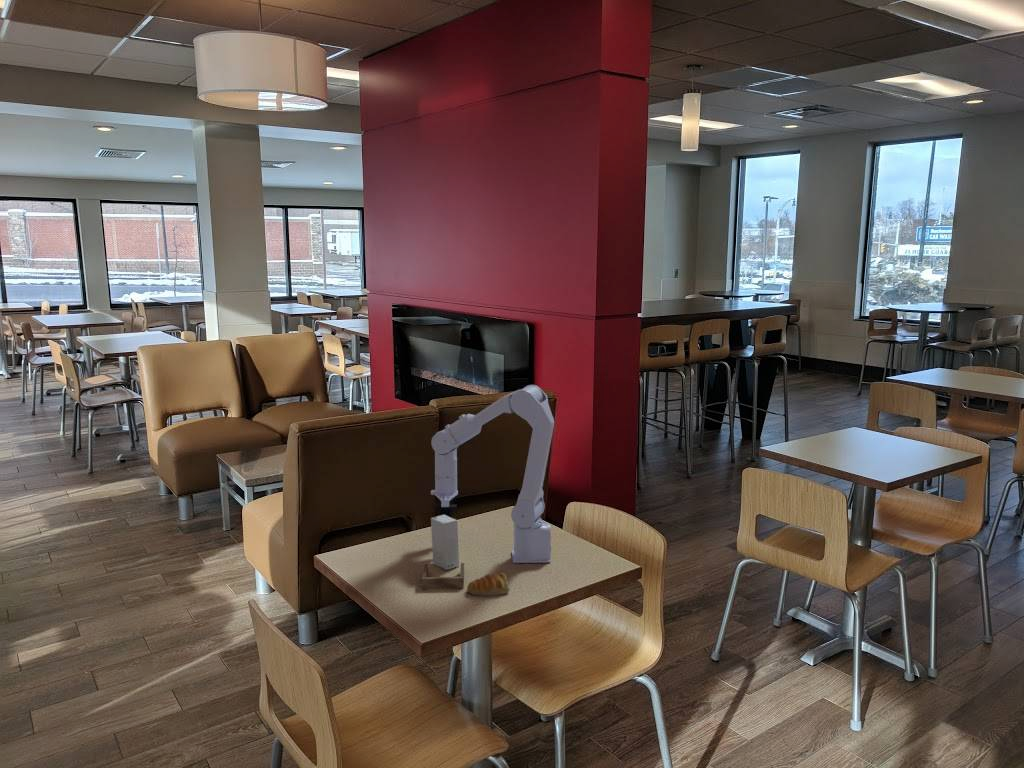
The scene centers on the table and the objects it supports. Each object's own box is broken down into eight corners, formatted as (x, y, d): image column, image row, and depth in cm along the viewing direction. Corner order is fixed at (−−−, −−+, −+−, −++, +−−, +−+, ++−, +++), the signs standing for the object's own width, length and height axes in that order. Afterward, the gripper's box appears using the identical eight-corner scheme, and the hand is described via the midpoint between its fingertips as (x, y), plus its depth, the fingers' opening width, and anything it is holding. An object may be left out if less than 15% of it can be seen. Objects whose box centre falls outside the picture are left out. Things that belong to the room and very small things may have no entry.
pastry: (472, 600, 166) (471, 584, 166) (463, 588, 173) (463, 572, 172) (511, 594, 169) (511, 578, 169) (502, 583, 176) (502, 567, 175)
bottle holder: (464, 572, 181) (464, 563, 180) (463, 588, 172) (463, 578, 172) (424, 573, 180) (424, 563, 180) (422, 589, 172) (421, 578, 171)
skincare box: (459, 566, 185) (459, 519, 183) (444, 571, 182) (444, 523, 180) (445, 559, 189) (445, 513, 187) (431, 563, 186) (430, 517, 185)
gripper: (432, 467, 201) (432, 515, 203) (429, 483, 187) (429, 534, 189) (458, 467, 202) (458, 515, 204) (457, 482, 187) (457, 534, 189)
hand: (446, 524), depth 196 cm, fingers open, 7 cm apart
